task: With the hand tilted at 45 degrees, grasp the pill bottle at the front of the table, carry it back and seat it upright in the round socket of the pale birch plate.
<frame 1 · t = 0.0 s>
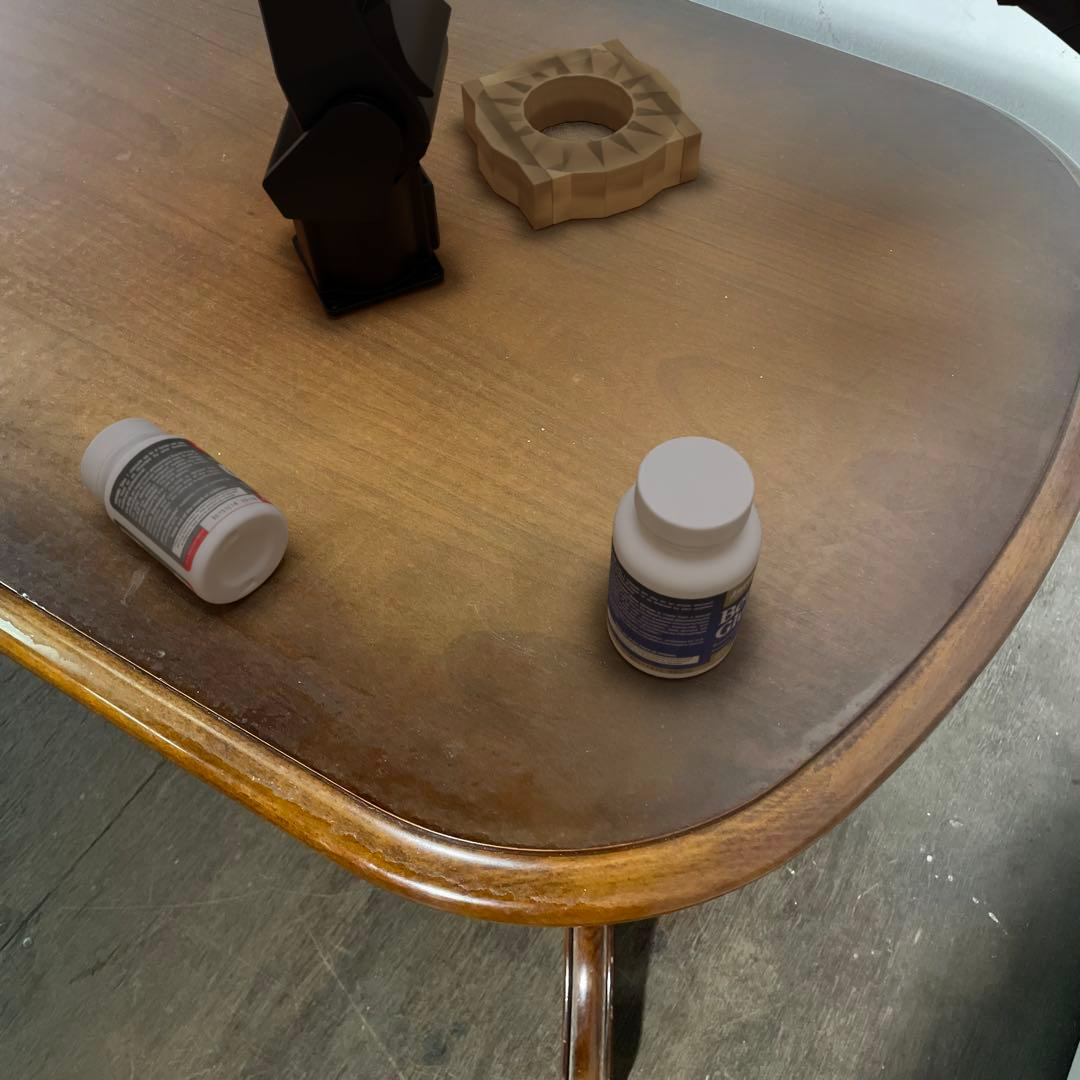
pill bottle 2: (250, 561, 43), point 2 cm above the table
socket plate: (577, 153, 61), on the table
pill bottle: (671, 625, 44), on the table
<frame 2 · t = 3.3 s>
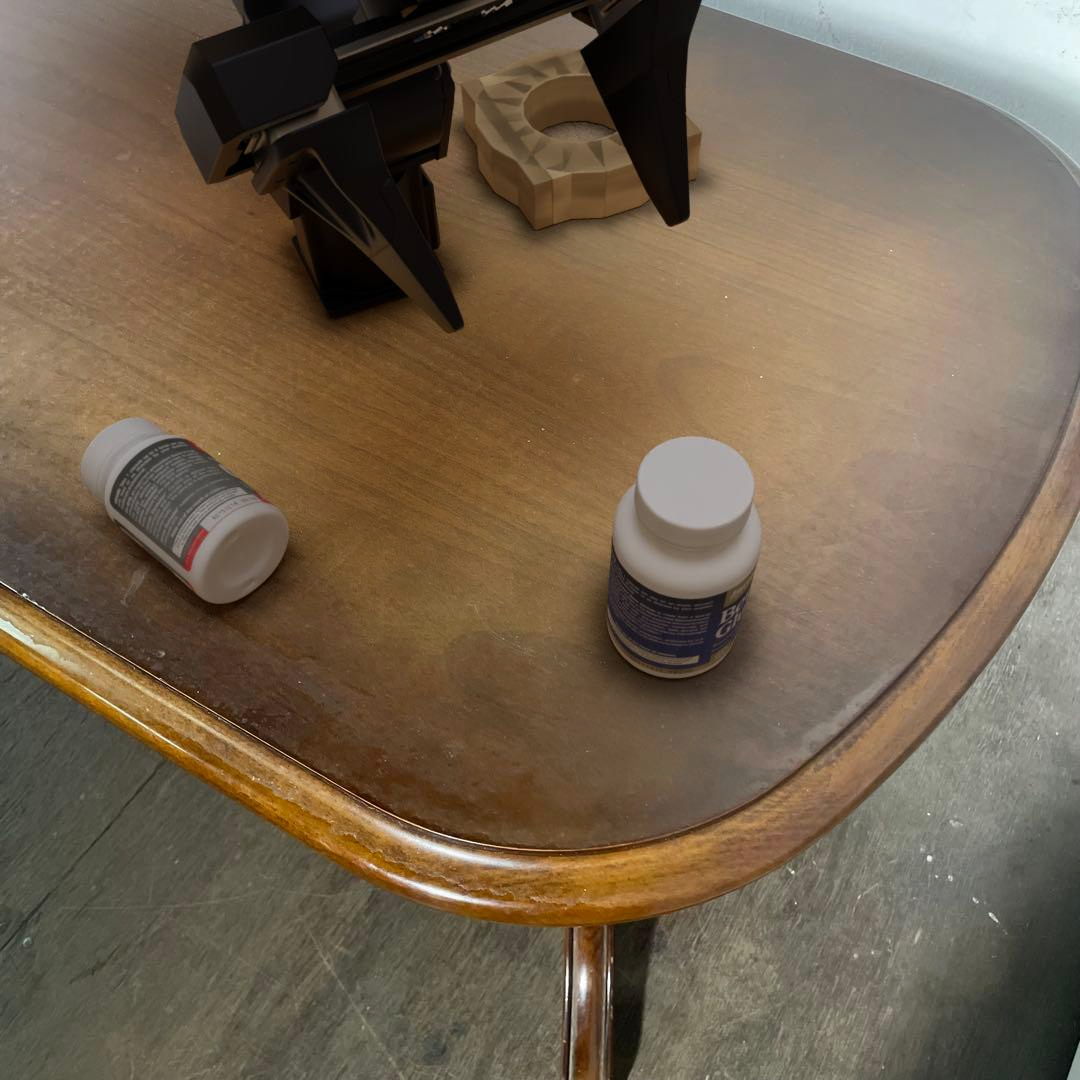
hand: (572, 275, 36), 13 cm above the table, tool tilted 45°, fingers open, 9 cm apart
nothing on the table moved.
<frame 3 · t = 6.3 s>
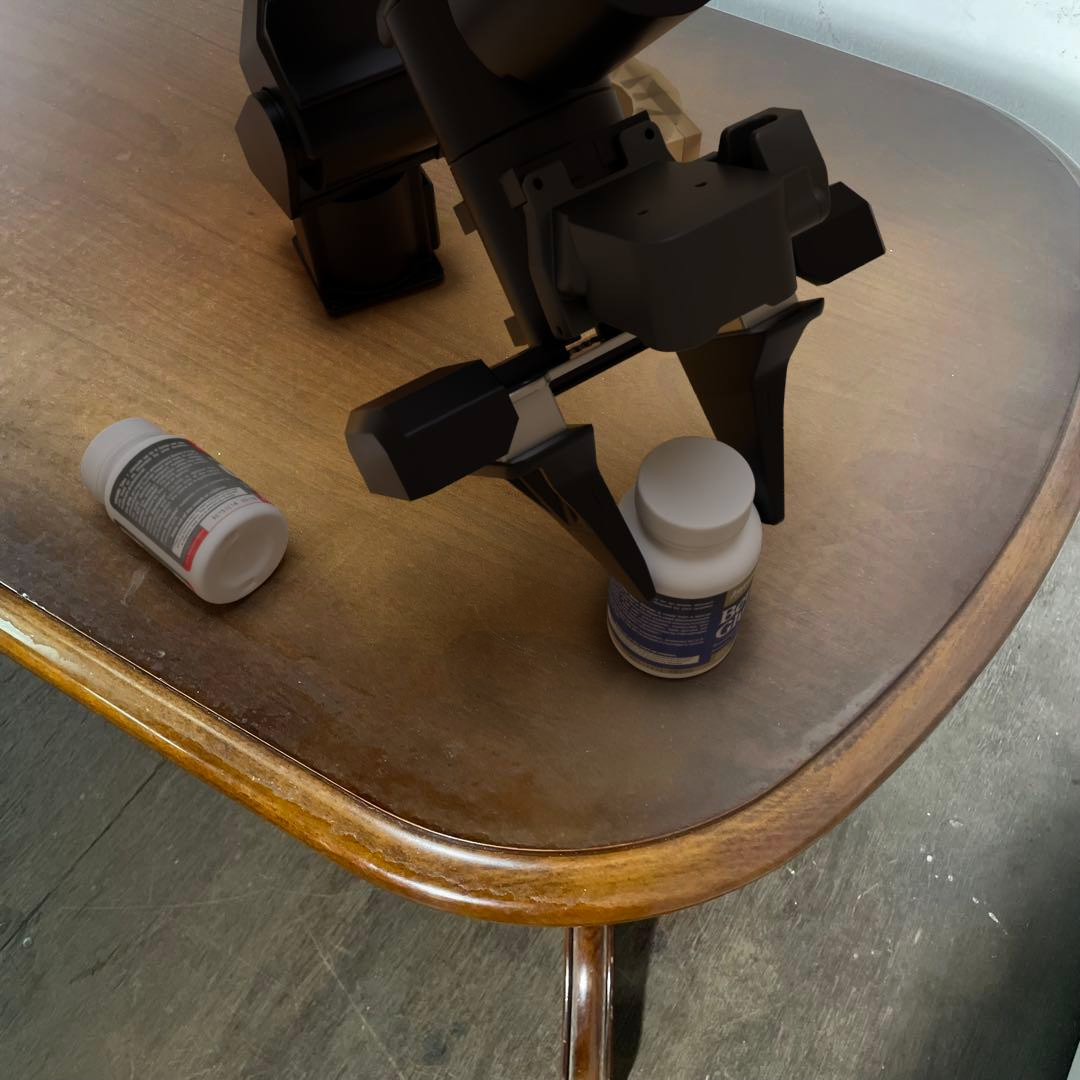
hand: (711, 560, 37), 7 cm above the table, tool tilted 45°, fingers closed on pill bottle, 5 cm apart
pill bottle: (671, 625, 44), on the table, touching gripper
everything else where it was.
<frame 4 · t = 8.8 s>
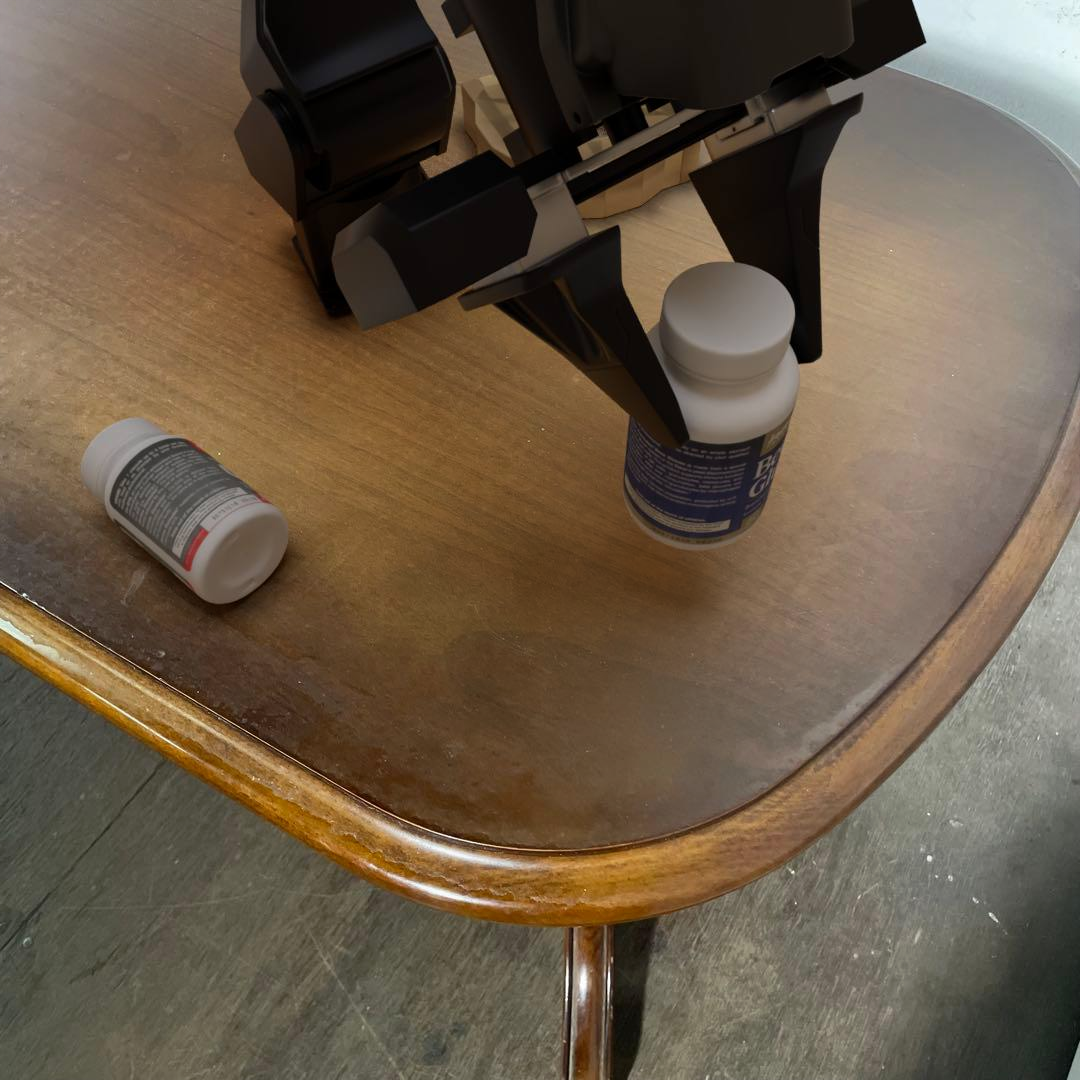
hand: (744, 402, 34), 13 cm above the table, tool tilted 45°, fingers closed on pill bottle, 5 cm apart
pill bottle: (692, 498, 40), point 6 cm above the table, touching gripper
everything else where it was.
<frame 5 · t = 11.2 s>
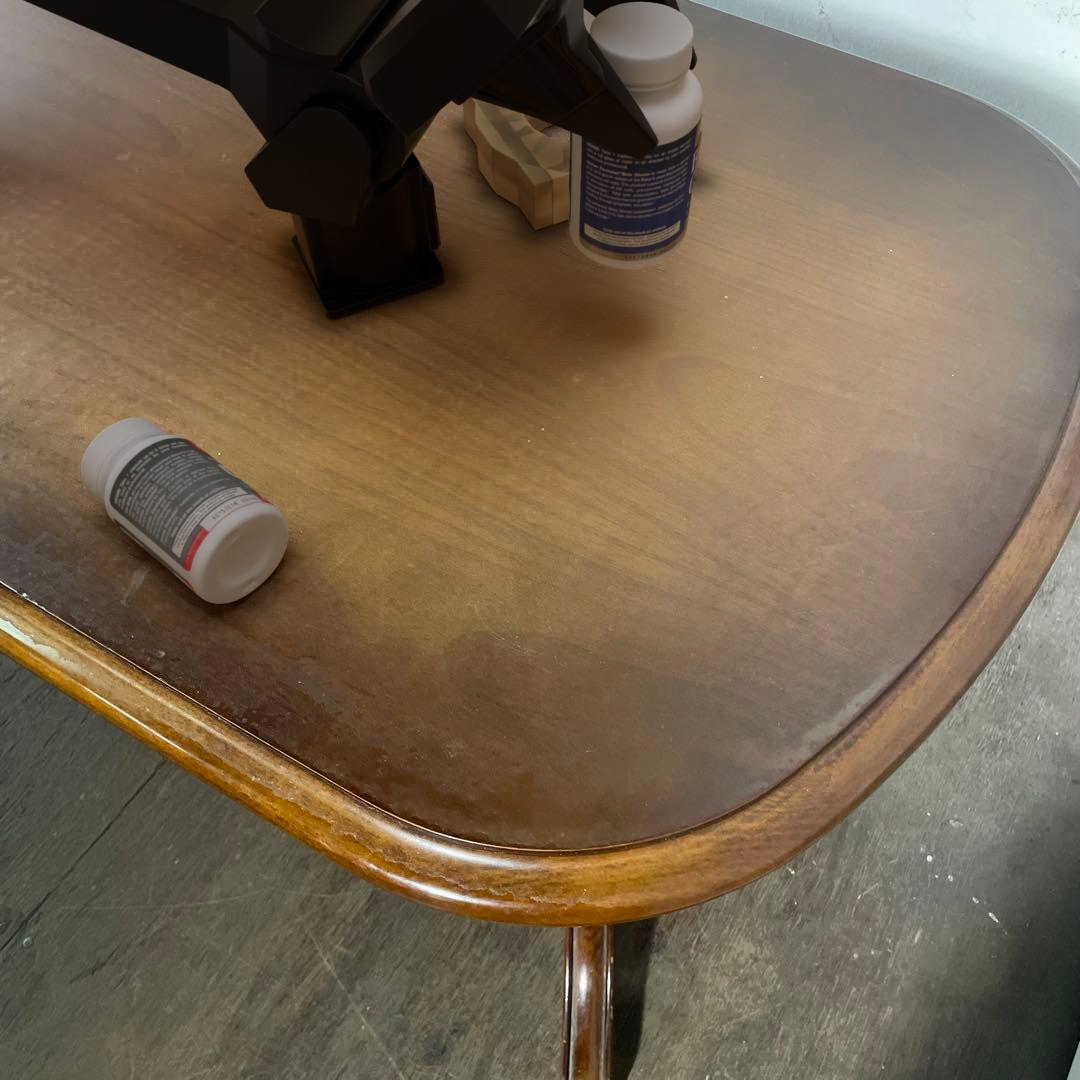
hand: (669, 110, 43), 12 cm above the table, tool tilted 45°, fingers closed on pill bottle, 5 cm apart
pill bottle: (627, 236, 48), point 6 cm above the table, touching gripper
everything else where it was.
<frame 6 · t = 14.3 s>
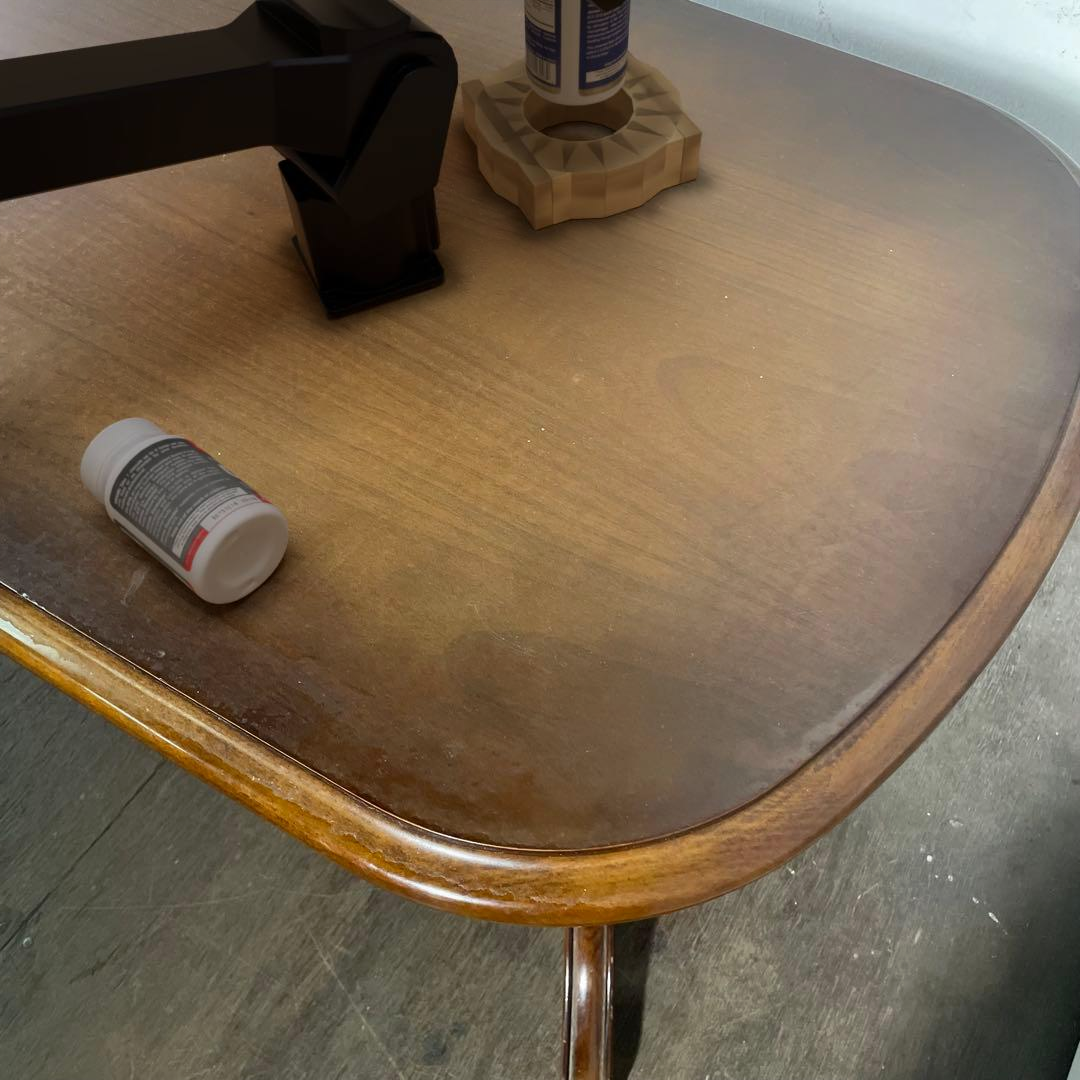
pill bottle: (575, 82, 57), point 5 cm above the table, touching gripper
everything else where it was.
when the fingers open (7 cm above the table, at t = 16.5 s): pill bottle stays where it is, resting in socket plate.
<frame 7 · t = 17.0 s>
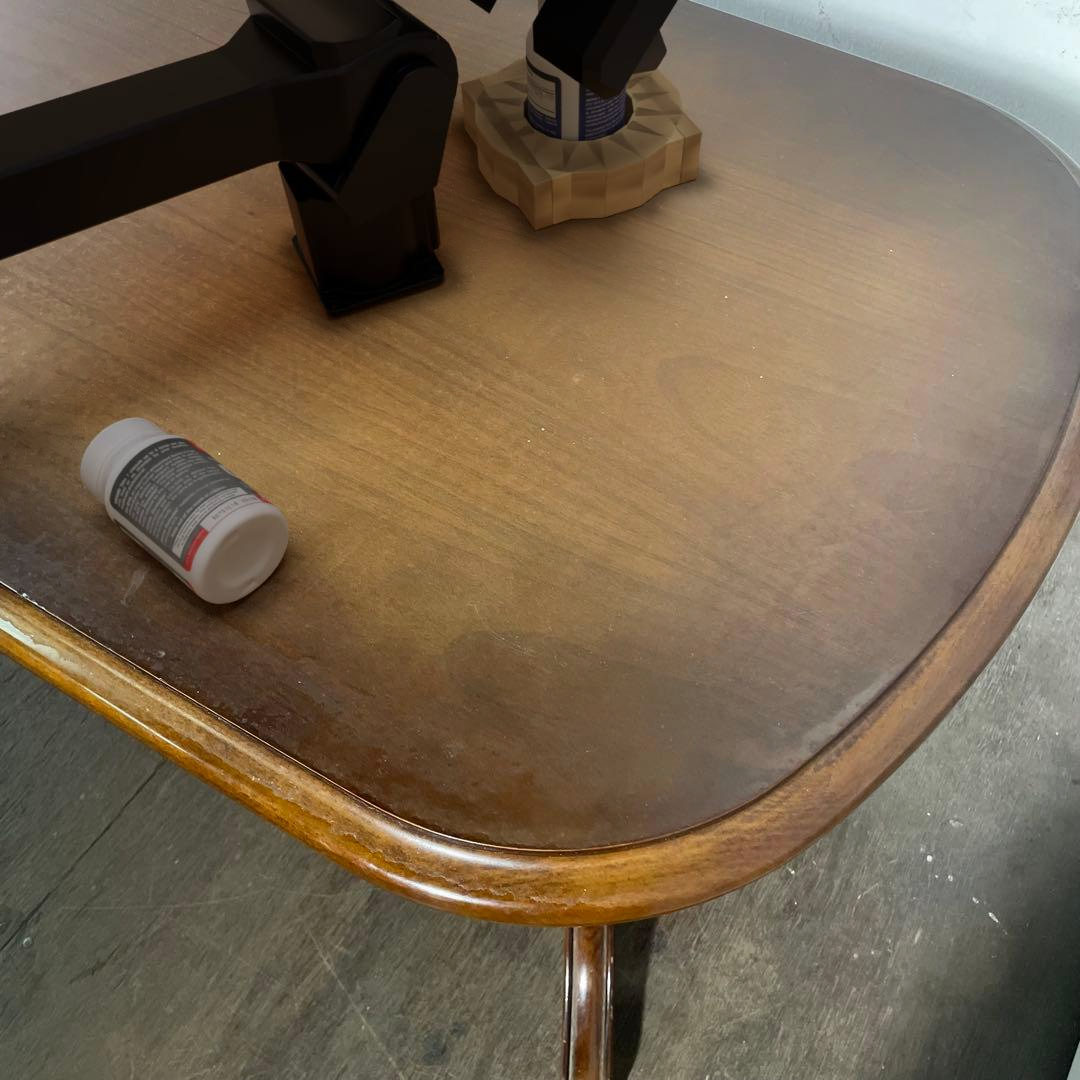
hand: (600, 21, 55), 7 cm above the table, tool tilted 45°, fingers open, 9 cm apart
pill bottle: (575, 157, 61), resting in socket plate
everything else where it was.
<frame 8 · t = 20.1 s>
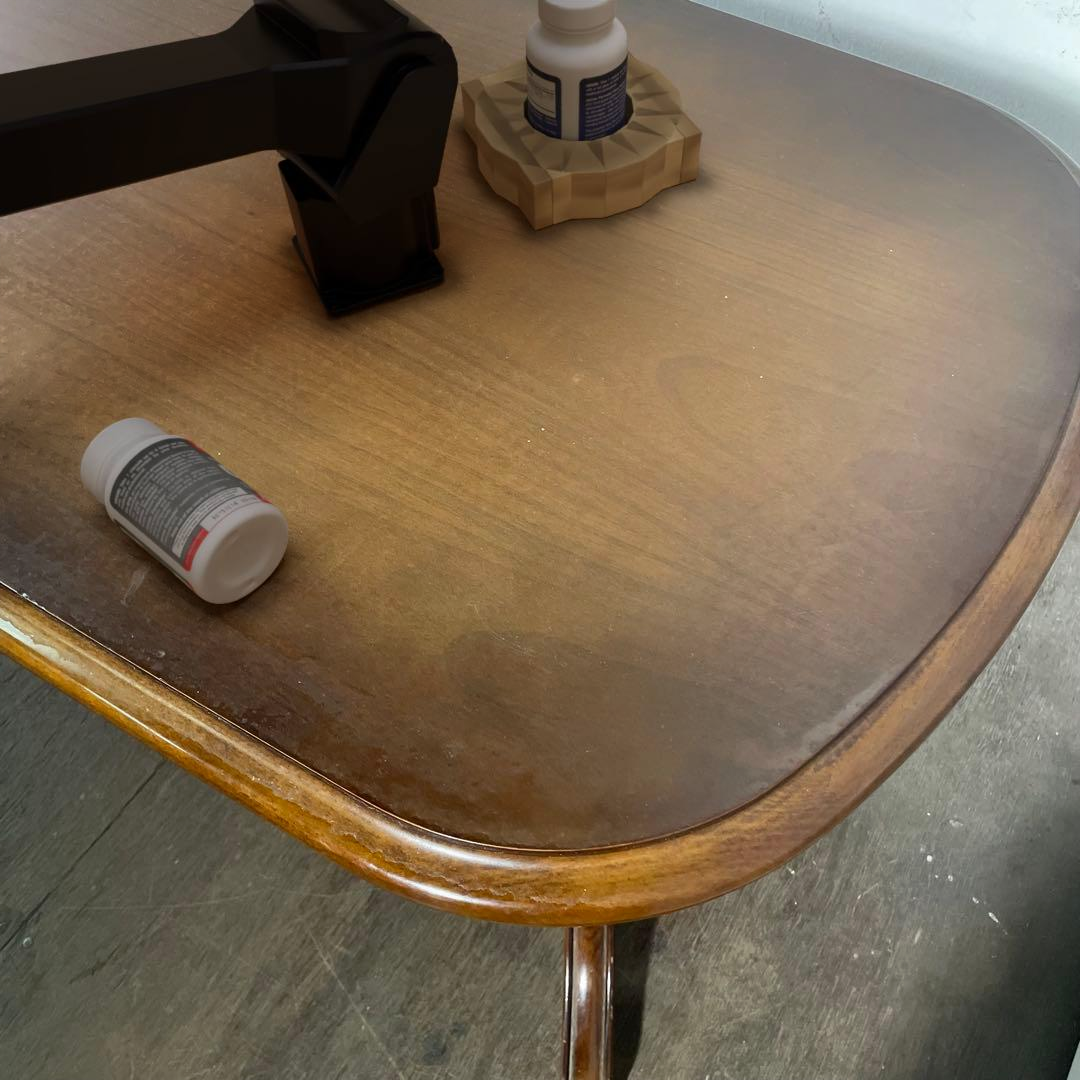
nothing on the table moved.
at the end: pill bottle 0.1 cm off-centre in the socket plate, point 0.0 cm above the socket plate's base; pill bottle tilted 0°; the gripper is holding nothing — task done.
